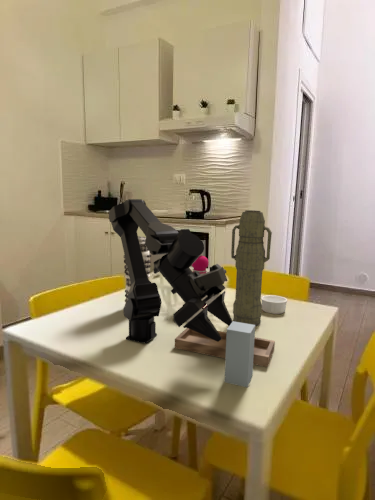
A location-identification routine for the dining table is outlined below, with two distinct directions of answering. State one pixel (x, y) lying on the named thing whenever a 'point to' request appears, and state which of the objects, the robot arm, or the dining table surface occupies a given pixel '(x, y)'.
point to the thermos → (249, 266)
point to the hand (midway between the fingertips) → (226, 332)
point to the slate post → (239, 353)
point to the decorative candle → (145, 257)
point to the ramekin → (273, 304)
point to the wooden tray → (222, 346)
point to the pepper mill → (200, 264)
